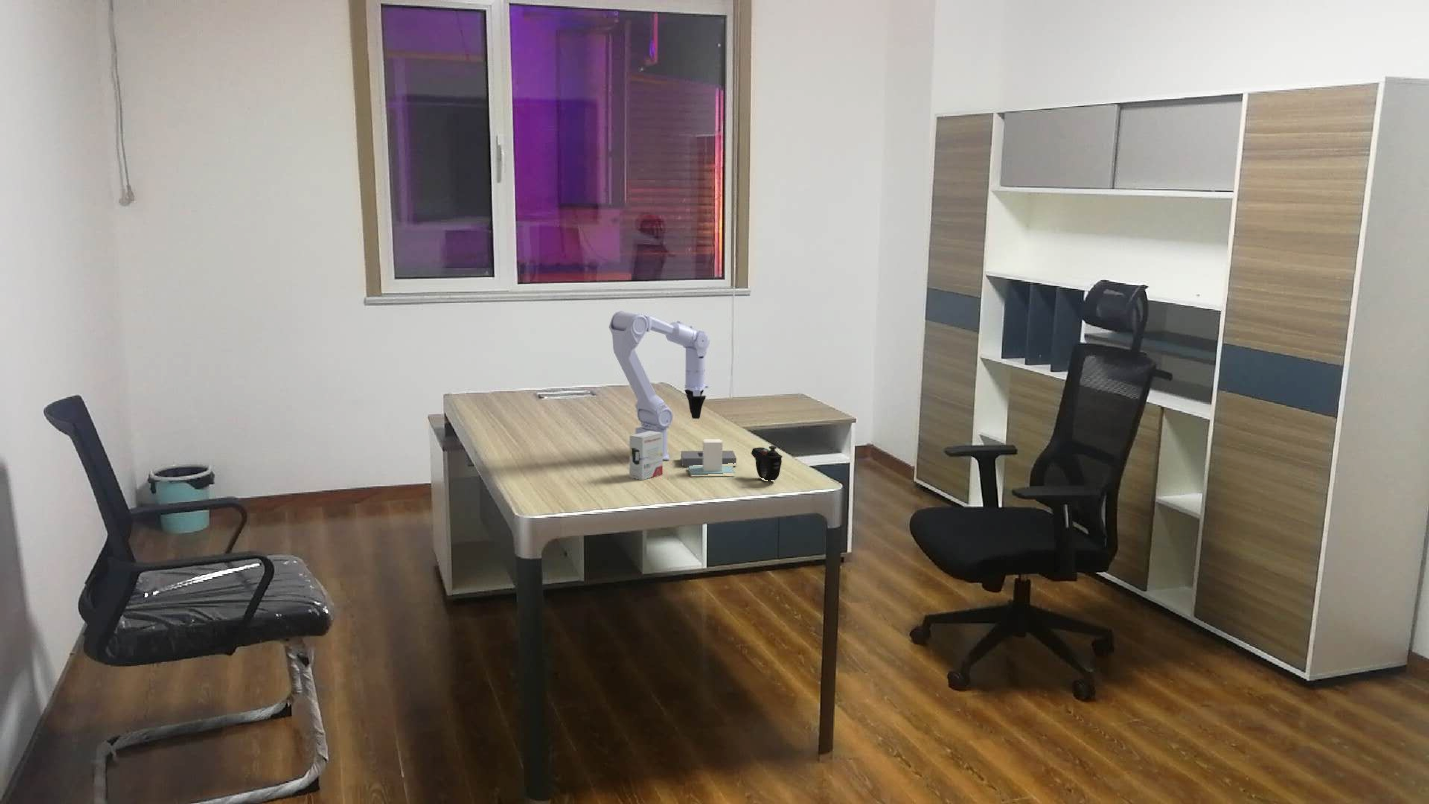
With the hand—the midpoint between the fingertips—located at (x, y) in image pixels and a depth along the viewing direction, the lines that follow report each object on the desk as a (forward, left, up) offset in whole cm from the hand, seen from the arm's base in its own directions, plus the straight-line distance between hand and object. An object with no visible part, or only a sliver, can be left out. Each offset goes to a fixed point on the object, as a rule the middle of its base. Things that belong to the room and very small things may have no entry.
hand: (694, 415), depth 325 cm
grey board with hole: (+3, -16, -10) cm, 19 cm away
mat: (+3, -27, -10) cm, 29 cm away
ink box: (-15, -30, -11) cm, 35 cm away
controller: (+17, -35, -11) cm, 40 cm away
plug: (+3, -27, -9) cm, 29 cm away
